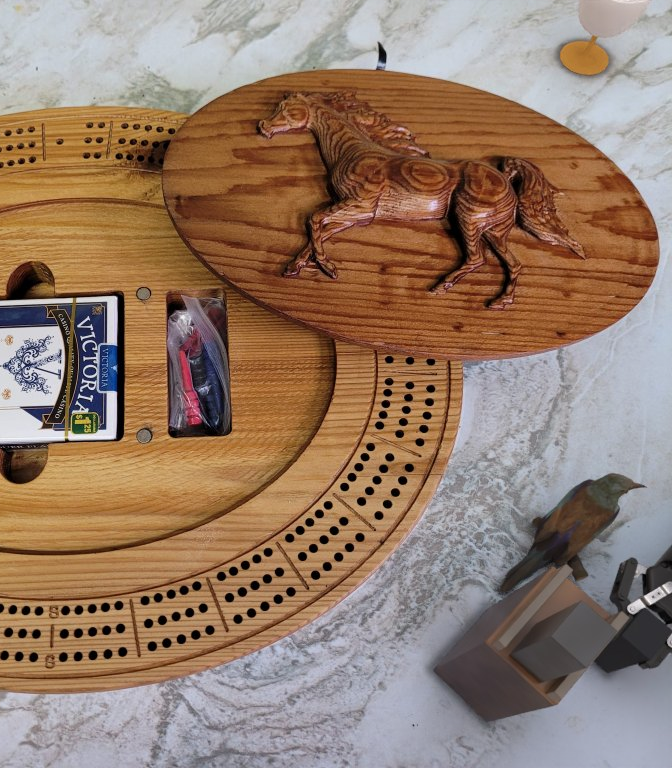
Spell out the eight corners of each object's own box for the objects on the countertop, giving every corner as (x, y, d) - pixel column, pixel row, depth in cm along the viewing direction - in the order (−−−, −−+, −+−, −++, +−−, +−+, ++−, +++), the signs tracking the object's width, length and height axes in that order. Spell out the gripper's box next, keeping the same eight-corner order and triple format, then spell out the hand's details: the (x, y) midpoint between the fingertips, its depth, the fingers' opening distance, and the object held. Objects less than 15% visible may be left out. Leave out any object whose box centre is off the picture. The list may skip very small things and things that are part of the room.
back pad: (629, 646, 111) (673, 631, 100) (607, 673, 110) (650, 660, 99) (603, 624, 113) (644, 607, 102) (581, 650, 111) (621, 635, 101)
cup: (546, 71, 158) (583, -6, 143) (558, 31, 163) (595, -48, 147) (610, 86, 156) (654, 10, 140) (620, 45, 160) (664, -34, 145)
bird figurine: (532, 625, 112) (638, 543, 100) (476, 569, 116) (572, 482, 104) (568, 585, 121) (671, 505, 108) (516, 534, 125) (609, 451, 112)
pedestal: (542, 657, 111) (619, 627, 91) (486, 722, 108) (553, 706, 87) (488, 608, 114) (550, 567, 94) (432, 669, 111) (484, 642, 91)
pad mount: (619, 627, 91) (680, 602, 79) (553, 706, 87) (606, 693, 76) (550, 567, 94) (599, 536, 82) (484, 642, 91) (525, 620, 79)
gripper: (669, 510, 105) (589, 603, 101) (774, 592, 100) (695, 694, 96) (641, 527, 112) (565, 615, 107) (738, 604, 107) (663, 700, 102)
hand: (627, 652), depth 102 cm, fingers closed on back pad, 4 cm apart
